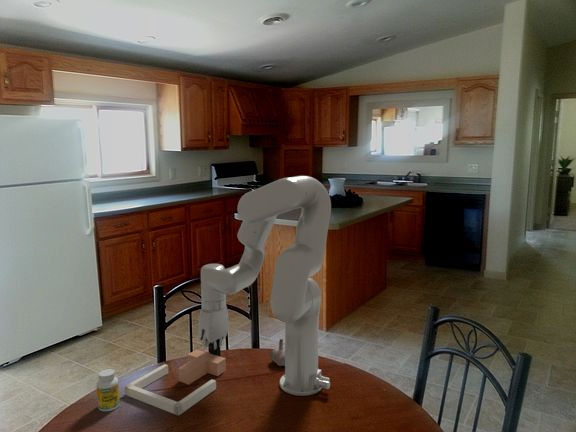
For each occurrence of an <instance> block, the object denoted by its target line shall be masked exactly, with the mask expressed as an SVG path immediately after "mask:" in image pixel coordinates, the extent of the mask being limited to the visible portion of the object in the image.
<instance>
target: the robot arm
mask: <svg viewBox="0 0 576 432" xmlns="http://www.w3.org/2000/svg"><path fill="white" fill-rule="evenodd" d="M296 209H301V211H300V216H299V218H298V220H297V221H298V222H297V225H296V230H295V238H294V241H293V244H292V245H291V246H289V247H287V248H285V249H284V250H282V252H281V253H280V254H279V256H278V257H277V259H276V262H275V266H274V272H273V277H272V278H273V279H272V284H271V285H272V286H271V290H270V291H271V292H270V300H269V301H270V302H269V303H270V309H271V312H272V314H273V316H274V317H275V318H276V319H277V320H278V321H280V322H282V323H284V348H285V366H284V374H283V375H282V376H281V377H280V379H279V388H280V389H282V391H283V392H285V393H287V394H290V395H293V396H302V397H303V396H305V397H306V396H311V395H314V394H317V393H319V392H320V391H322V389H323V388H324V389H327V390H329V389H330V387H331V381H330V379H331V378H330V377H327V376H323V375H322V369H319V325H320V323H319V322H320V321H319V320H320V311H321V304H322V290H321V288H320V286H319V284H318V283H317V281H316V280H314V279H313V278H311V277H313V276H314V275H316V274H317V273H318V272H320V270H321V269H322V267H323V264H324V258H325V251H326V246H327V245H326V244H327V241H328V240H327V238H328V232H329V231H328V230H329V225H330V219H331V212H332V201H331V197H330V194H329V192H328V190H327V188H326V187H325V186H324V184H323V183H321V181H319V179H316V178H314V177H312V176H309V175H295V176H291V177H283V178H279V179H277V180H274V181H272V182H270V183H268V184H265V185H263V186H260V187H258V188H255V189H253V190H250V191H248V192H246V193H244V195H242V196H241V197H240V199H239V201H238V204H237V214H238V217H239V218H240V219H241V220H242V222H241V225H240V227H239V229H238V232H237V234H236V235H237V239H238V241H239V242H240V243H241V244H242V245H244V250H243V254H242V255H241V258H240V259H239V260H240V261H239V263H238V264H235V265H233V266H230V267H227V268H225V266H224V265H223V264H220V263H207V264H205V265H203V266H202V267H201V268H200V289H201V291H200V293H201V294H200V295H201V309H200V311H199V315H198V325H197V330H198V331H197V337H198V338H197V339H198V341H202V343H201V347H202V348H208V349H209V350H208V351H209V354H213V355H216V356H220V357H222V356H221V347H222V345H223V340H224V338H226V337H227V336H228V333H229V330H230V324H229V323H230V322H229V313H228V312H229V311H228V307H227V295H233V294H236V293H238V292H240V291H242V290H243V289H245V288H248V287H250V286H251V285H253V284H254V282H255V281H256V279H257V278H258V275H259V273H260V271H261V269H262V267H263V265H264V261H265V255H266V253H265V252H266V250H265V244H266V242H267V240H268V238H269V236H270V234H271V230H272V229H273V226H274V225H275V222H276V220H277V217H278V216H279V215H281V214H284V213H287V212H290V211H293V210H296Z"/></svg>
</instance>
